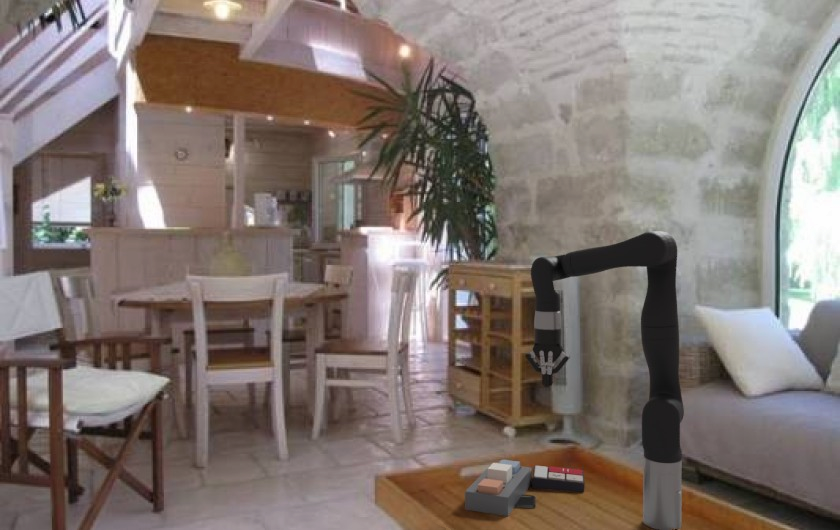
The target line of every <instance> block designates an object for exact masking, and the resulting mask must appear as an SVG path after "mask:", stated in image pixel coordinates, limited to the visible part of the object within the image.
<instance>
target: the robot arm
mask: <svg viewBox="0 0 840 530" xmlns="http://www.w3.org/2000/svg"><path fill="white" fill-rule="evenodd" d="M677 264H678V246H677V242H676V240H675V238H674V237H673V236H672V234H670V233H669V232H666V231H661V230H654V231H651V230H650V231H646V232H643V233H640V234H639V235H636V236H634V237H631V238H629V239H626V240H624V241H620V242H617V243H613V244H609V245H608V244H607V245H604V246H597V247H589V248H584V249H578V250H574V251H570V252H567V253H565V254H560V255H553V256H540V257H538V258H536V259H534V261H533V262H532V264H531V266H530V267H531V268H530V278H531V284H532V288H533V291H534V296H535V311H534V322H533V326H534V327H533V329H534V330H533V331H534V332H533V333H534V335H533V336H534V345H533V347H532V350H531V351H530V352H527V353H526V354H525V358H526V359H527V361H528V362H529V363H530V365H531V366H532V368H533V369H534V370H535V371H536V372H537V373H540V374H541V384H542V386H544V388H549V389H550V388H551V387H552V386H553V384H554V374H557V373H559V372H560V371H561V369H562V368H563V367H564V366H565V365H566V363H568V361H569V360H570V358H571V356H570V355H569V354H567V353H565V352H564V349H563V346H562V315H561V294H560V292H559V291H558V290H556V289H555V284H554V282H555V281H560V280H564V279H569V278H575V277H581V276H587V275H592V274H597V273H601V272H605V271H608V270H612V269H618V268H627V267H634V268H635V267H636V268H637V267H638V268H639V267H641V268H642V267H643V268H645V267H646V272H647V273H646V276H647V287H646V294H645V297H644V302H643V306H642V311H641V316H640V334H641V335H640V336H641V346H642V351H643V353H644V358H645V361H646V365H647V369H648V372H649V395H648V401H647V402H646V403H645V405H644V406H643V407H642V408H643V409H642V412H641V446H642V448H643V482H642V483H643V486H642V487H643V489H642V490H643V491H642V492H643V493H642V495H643V496H642V498H643V499H642V502H643V503H642V504H643V505H642V509H643V510H642V516H643V517H642V522H643V524H644V525H645V526H647V527H649V528H651V529H655V530H658V529H659V530H671V529H680V528H682V508H683V506H682V503H683V502H682V498H683V497H682V495H683V494H682V493H683V491H682V490H683V487H682V486H683V485H682V466H683V465H682V462H683V461H682V457H683V456H682V455H683V451H682V448H681V423H682V421H683V418H684V415H685V408H684V402H683V397H682V391H681V384H680V375H679V373H680V372H679V370H680V327H679V313H678V299H677V298H678V297H677V286H676V285H677V282H676V281H677ZM559 357H560V358H559ZM536 358H537V359H538V361H539V362H538V361H537V359H536ZM558 359H560V362H559V363H558V364H557V365H556V367H555V362H556V361H557V360H558ZM680 530H681V529H680Z"/></svg>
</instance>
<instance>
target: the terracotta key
mask: <svg viewBox="0 0 840 530" xmlns="http://www.w3.org/2000/svg"><path fill="white" fill-rule="evenodd" d="M502 490H503V481H500V480H492V479H485V478H484V479H483V480H482V481H481V482H480V483H479V484H478V492H481V493H488V494H495V495H499V494H500V493H501V492H502Z"/></svg>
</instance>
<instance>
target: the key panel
mask: <svg viewBox="0 0 840 530" xmlns="http://www.w3.org/2000/svg"><path fill="white" fill-rule="evenodd" d="M493 463H494V462H492V463H491V464H490V465H489V466H488V467H487V468H486V469H485V470H484V471H483V472H482V473H481V474H480V476H478V477H477V478H476V479H475V481H473V483H472V484H471V485H469V487H468V488H466V490H465V491H464V510H465V511H473V512H478V513H485V514H492V515H499V516H506V517H509V516H510V514H511V513H512V511H513V510H514V509H513V508H515V504H516V503H517V501H518V500H519V499H520V497H521V496H522V495H526V492H527V491H528V490H529V488H530V487H532V477H533V469H532V467H530V466H529V467H528V466H521V465H520V470H519V471H518V472H517V474H512V479H511V480H510V482H509V483H508V484H504V483H503V490H502V492H501V493H500V494H499V495H495V494H488V493H481V492H478V484H479V483H480V482H481V481H482V480H483V479H484V478H485V479H488V468H489V467H490V466H491V465H492V464H493Z"/></svg>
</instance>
